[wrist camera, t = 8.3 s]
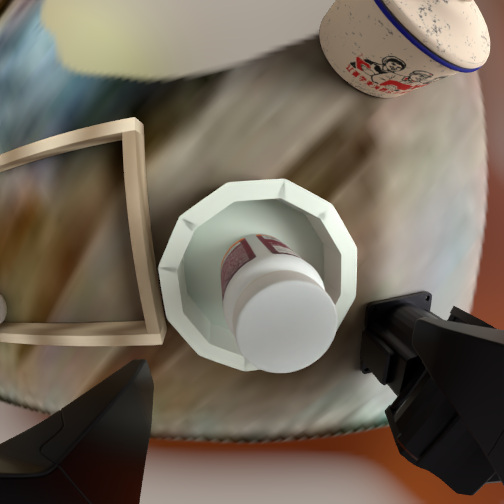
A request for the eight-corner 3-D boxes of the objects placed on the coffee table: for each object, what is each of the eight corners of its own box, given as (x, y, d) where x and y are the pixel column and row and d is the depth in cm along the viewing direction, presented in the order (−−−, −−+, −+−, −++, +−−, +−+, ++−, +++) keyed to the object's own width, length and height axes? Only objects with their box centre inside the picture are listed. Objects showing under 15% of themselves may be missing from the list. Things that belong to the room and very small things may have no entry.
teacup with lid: (327, 100, 18) (433, 29, 7) (303, 0, 16) (361, -97, 4) (448, 109, 19) (553, 88, 7) (423, 22, 17) (504, -25, 5)
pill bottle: (232, 313, 19) (245, 395, 11) (210, 245, 18) (206, 294, 10) (301, 291, 20) (353, 358, 11) (284, 223, 18) (336, 253, 10)
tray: (143, 124, 17) (134, 117, 15) (167, 329, 20) (162, 344, 18) (-35, 176, 15) (-50, 177, 13) (-8, 329, 18) (-20, 339, 16)
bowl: (330, 178, 19) (355, 176, 15) (331, 328, 21) (351, 353, 18) (162, 190, 18) (149, 190, 14) (184, 346, 20) (179, 376, 17)
